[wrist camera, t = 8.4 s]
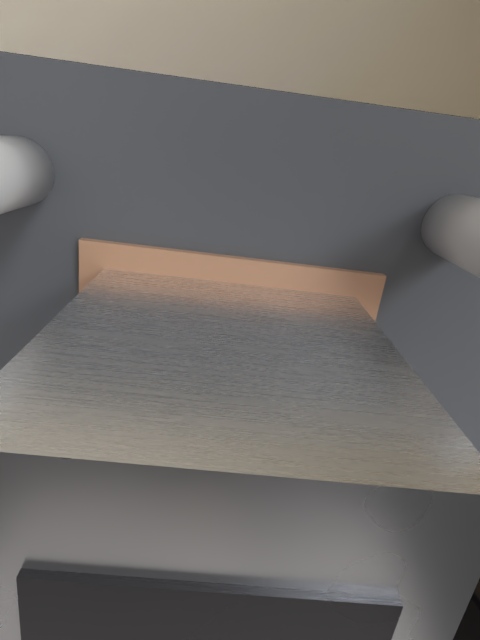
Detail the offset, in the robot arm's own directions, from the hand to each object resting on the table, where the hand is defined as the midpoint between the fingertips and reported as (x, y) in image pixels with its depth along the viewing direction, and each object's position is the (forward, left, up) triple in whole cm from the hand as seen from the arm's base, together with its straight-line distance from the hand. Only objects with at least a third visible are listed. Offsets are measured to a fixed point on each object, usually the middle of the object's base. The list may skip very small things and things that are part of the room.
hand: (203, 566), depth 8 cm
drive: (0, 0, -3) cm, 3 cm away
